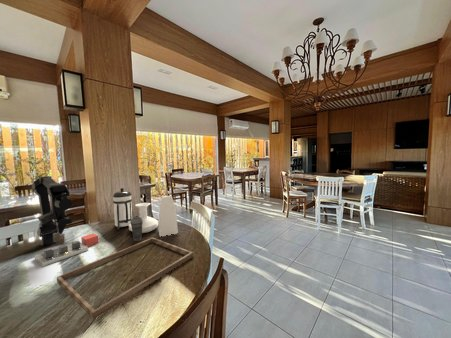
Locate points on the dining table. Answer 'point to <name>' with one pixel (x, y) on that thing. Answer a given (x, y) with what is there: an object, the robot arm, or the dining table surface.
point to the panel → (60, 255)
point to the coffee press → (122, 208)
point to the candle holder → (145, 218)
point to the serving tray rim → (128, 293)
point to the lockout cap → (89, 239)
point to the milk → (167, 217)
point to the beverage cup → (137, 227)
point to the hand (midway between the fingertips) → (60, 234)
